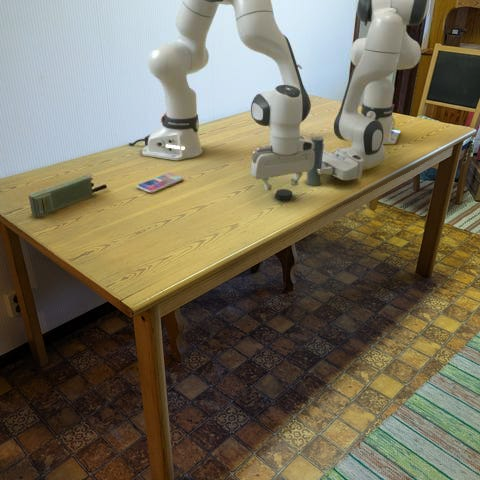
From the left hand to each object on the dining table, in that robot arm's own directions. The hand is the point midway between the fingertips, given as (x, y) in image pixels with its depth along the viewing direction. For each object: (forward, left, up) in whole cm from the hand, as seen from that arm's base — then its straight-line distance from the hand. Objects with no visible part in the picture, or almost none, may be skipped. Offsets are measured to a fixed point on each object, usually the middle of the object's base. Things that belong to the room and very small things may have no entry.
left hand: (281, 187), depth 154 cm
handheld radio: (-61, -17, -4) cm, 63 cm away
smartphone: (-40, +2, -4) cm, 40 cm away
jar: (+9, +14, -4) cm, 17 cm away
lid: (+1, 0, -2) cm, 2 cm away
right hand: (+8, +14, +2) cm, 16 cm away
